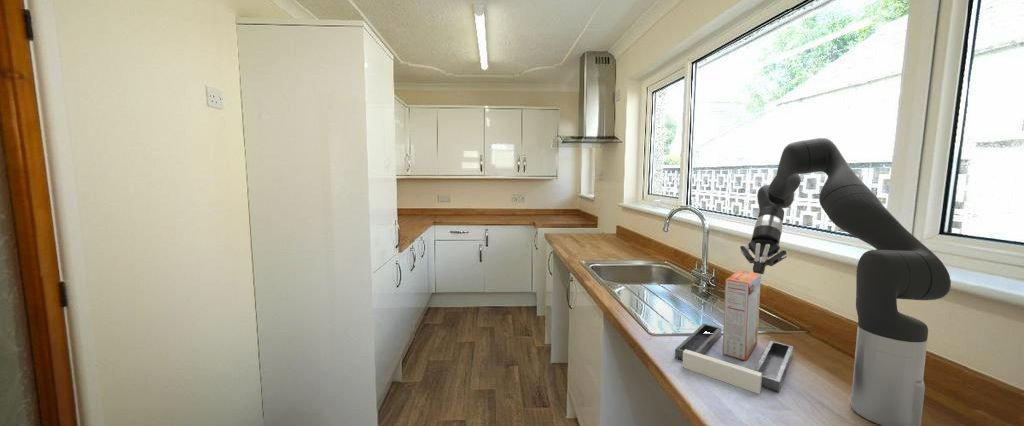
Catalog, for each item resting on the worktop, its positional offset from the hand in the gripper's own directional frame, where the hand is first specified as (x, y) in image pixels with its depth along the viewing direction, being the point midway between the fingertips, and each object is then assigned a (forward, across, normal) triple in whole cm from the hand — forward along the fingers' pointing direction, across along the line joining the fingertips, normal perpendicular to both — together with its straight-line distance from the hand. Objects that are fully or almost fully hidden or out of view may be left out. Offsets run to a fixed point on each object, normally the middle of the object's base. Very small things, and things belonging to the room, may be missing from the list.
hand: (757, 273), depth 111 cm
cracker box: (+27, 0, -1) cm, 27 cm away
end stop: (+41, 0, -16) cm, 44 cm away
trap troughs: (+31, 0, -6) cm, 31 cm away
